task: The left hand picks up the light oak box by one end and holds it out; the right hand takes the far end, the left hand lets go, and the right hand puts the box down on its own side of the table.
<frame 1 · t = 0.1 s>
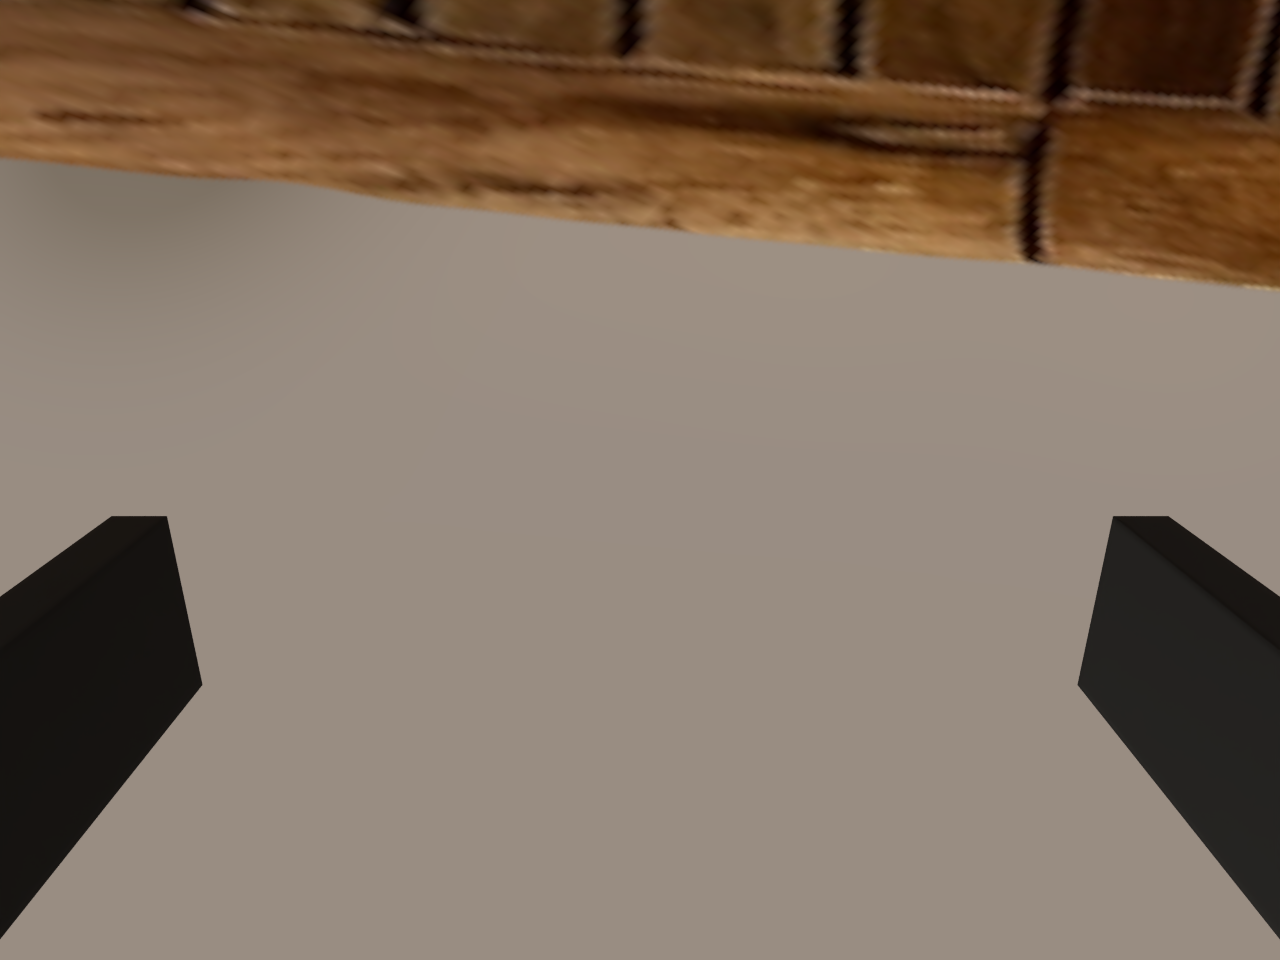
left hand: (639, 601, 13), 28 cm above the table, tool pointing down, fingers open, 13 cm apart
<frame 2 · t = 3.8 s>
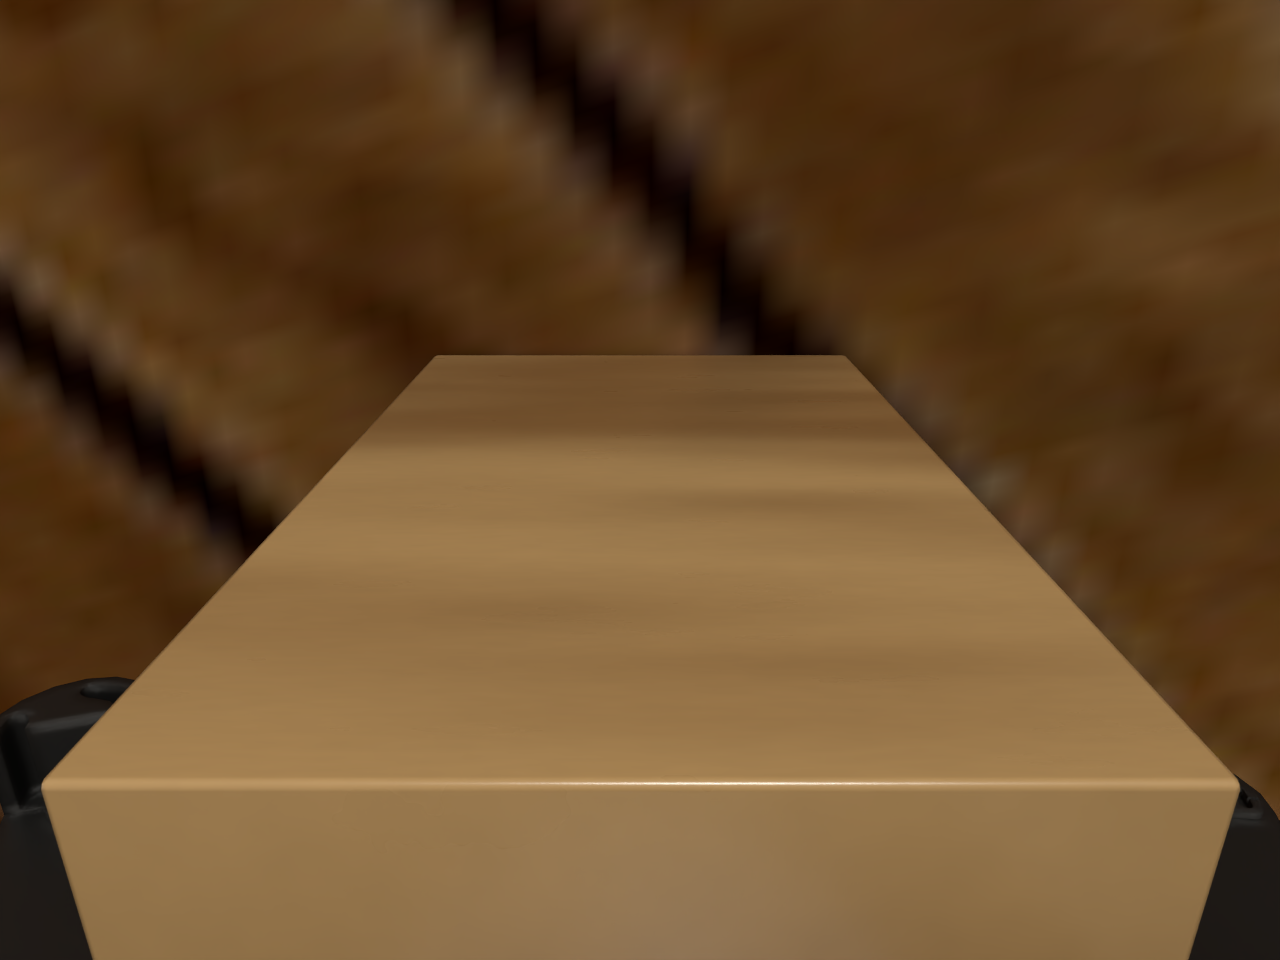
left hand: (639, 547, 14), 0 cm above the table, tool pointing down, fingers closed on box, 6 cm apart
box: (640, 889, 17), on the table, touching left hand
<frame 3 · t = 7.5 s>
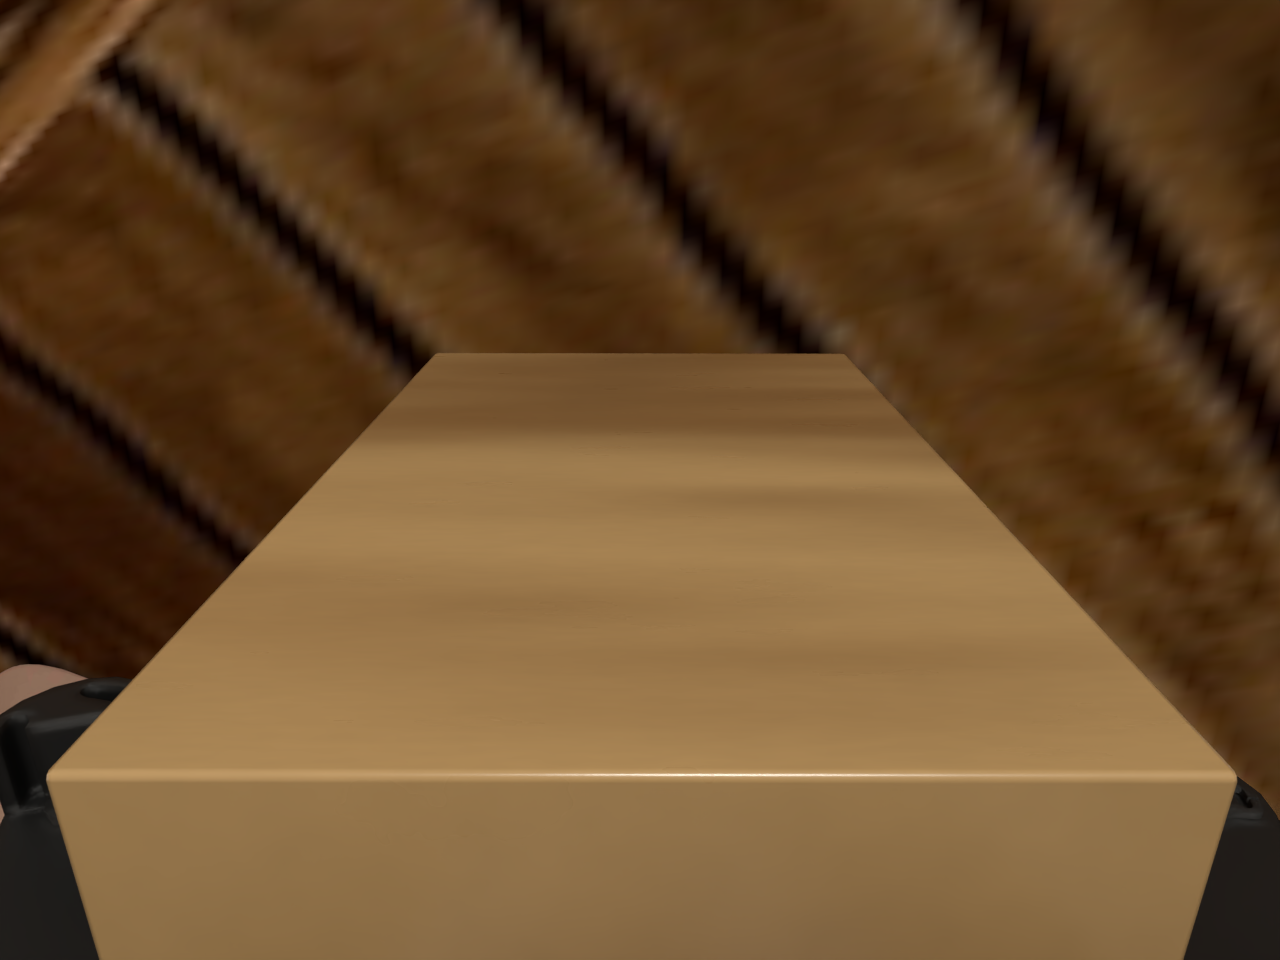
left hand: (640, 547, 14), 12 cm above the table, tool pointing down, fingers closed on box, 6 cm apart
anatomical model: (103, 827, 32), on the table
box: (639, 887, 17), point 12 cm above the table, touching left hand, right hand
when the left hand's fingers open (12 cm above the table, at t = 8.7 s): box stays where it is, held by the right hand.
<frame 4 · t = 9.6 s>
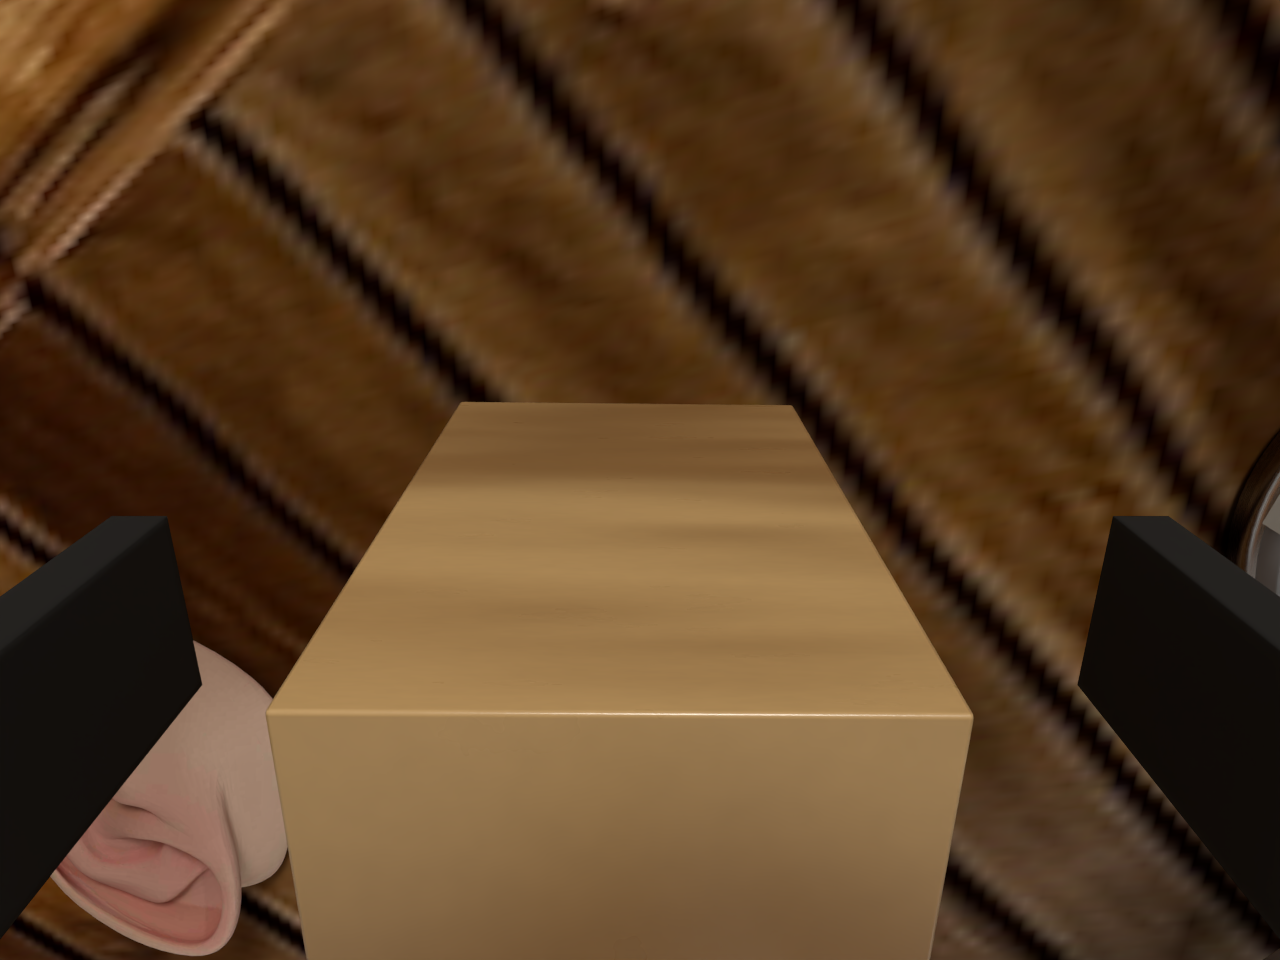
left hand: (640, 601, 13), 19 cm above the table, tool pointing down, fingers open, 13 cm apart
anatomical model: (166, 755, 37), on the table
box: (623, 845, 21), point 14 cm above the table, touching right hand
when the right hand's fingers open (5 cm above the table, at t = 15.4 s): box moves 1 cm, on the table.
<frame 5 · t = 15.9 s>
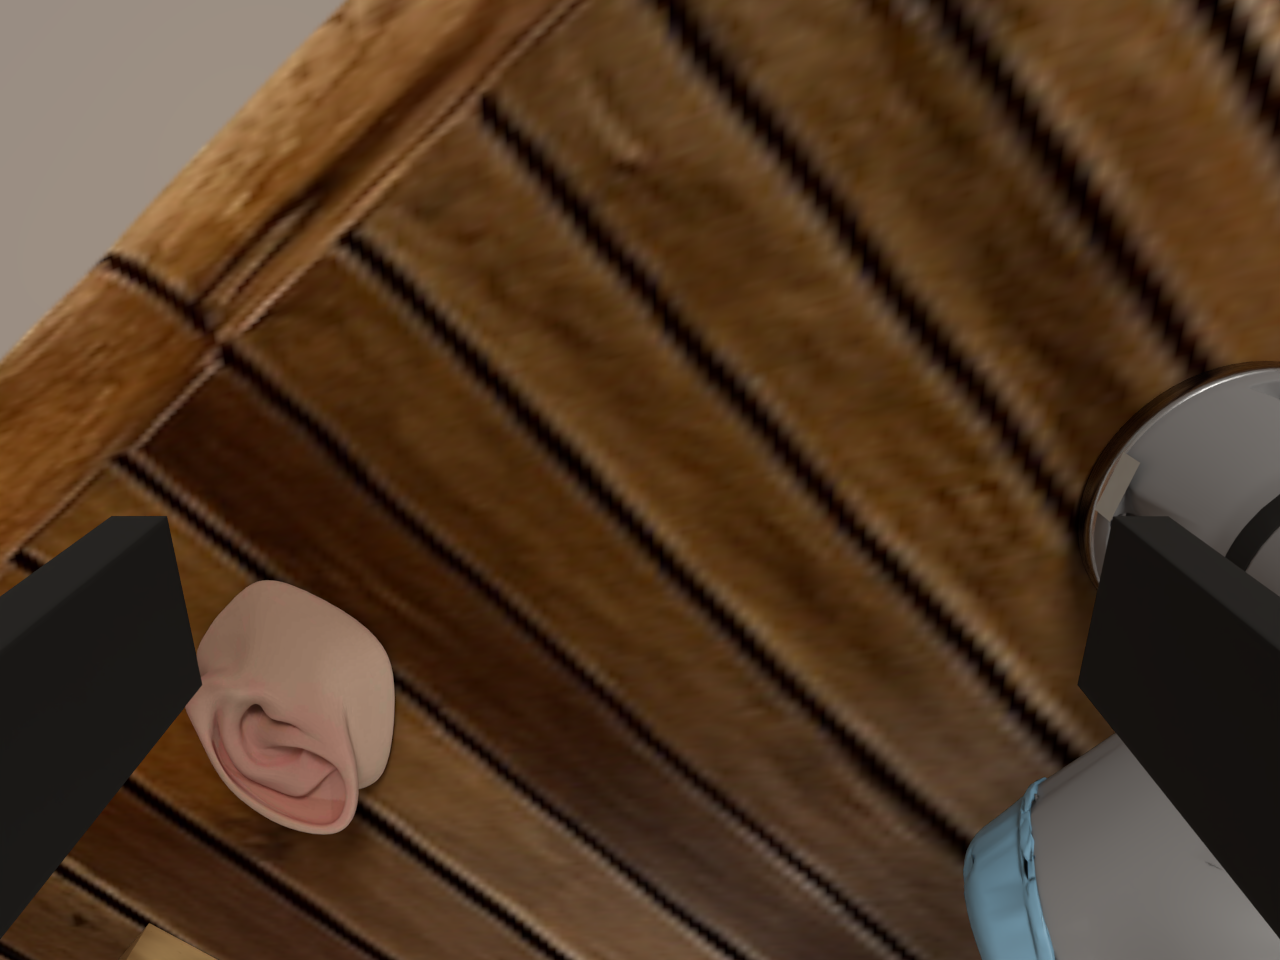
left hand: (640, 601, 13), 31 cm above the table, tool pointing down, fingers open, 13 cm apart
anatomical model: (300, 688, 50), on the table
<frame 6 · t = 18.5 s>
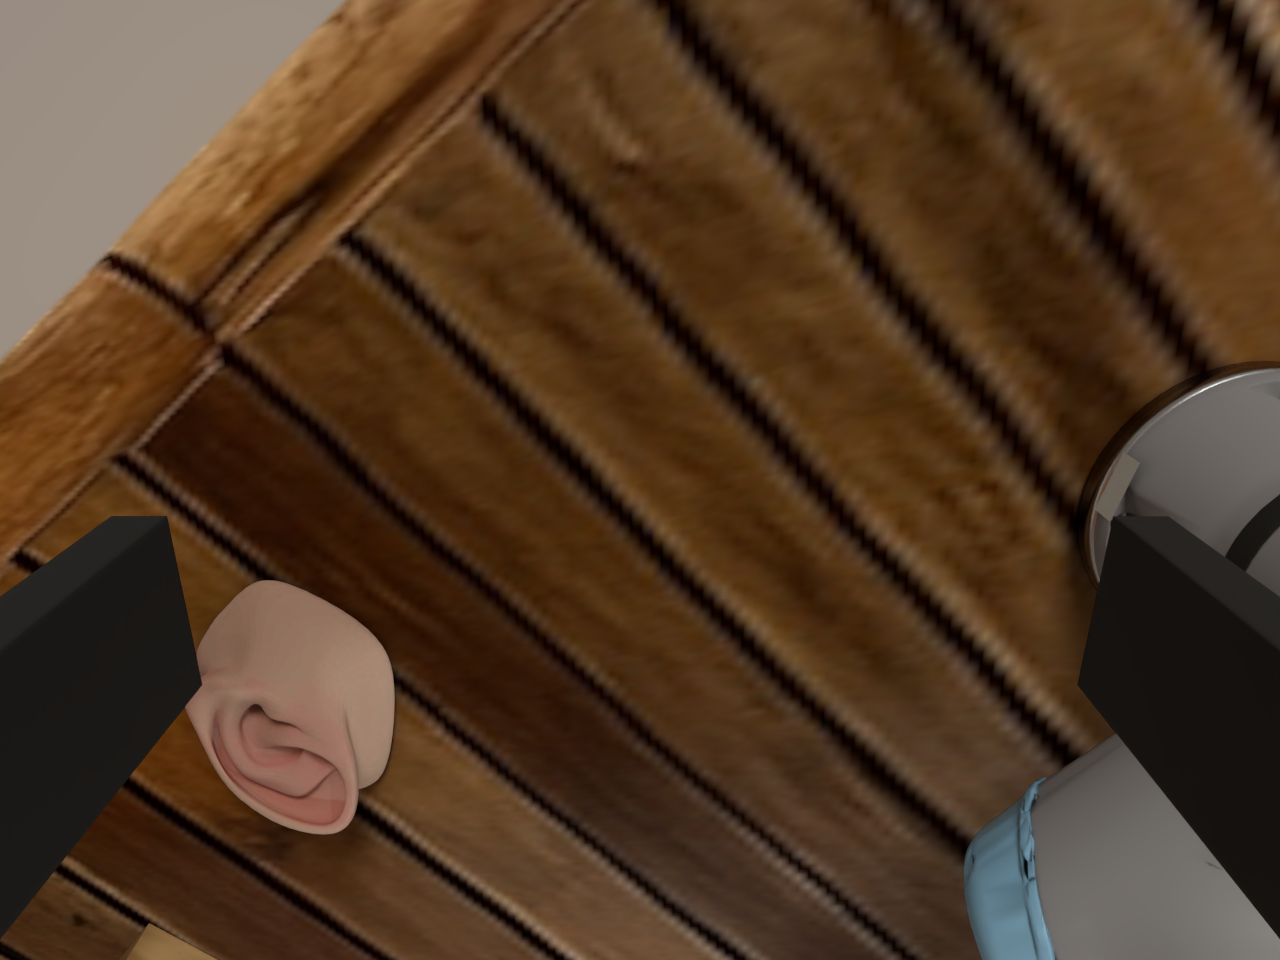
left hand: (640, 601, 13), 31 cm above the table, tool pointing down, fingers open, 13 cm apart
anatomical model: (300, 688, 50), on the table
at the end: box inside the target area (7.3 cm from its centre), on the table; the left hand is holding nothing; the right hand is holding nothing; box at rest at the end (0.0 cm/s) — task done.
